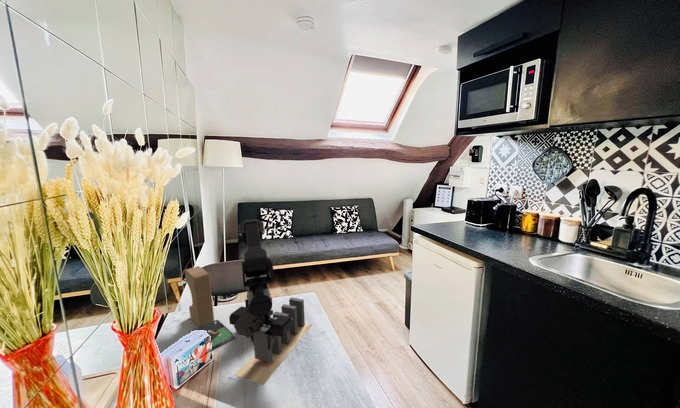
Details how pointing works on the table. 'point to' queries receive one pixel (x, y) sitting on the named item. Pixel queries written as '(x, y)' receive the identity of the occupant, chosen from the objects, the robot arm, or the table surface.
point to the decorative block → (200, 296)
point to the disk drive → (217, 333)
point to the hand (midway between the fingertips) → (262, 346)
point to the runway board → (263, 370)
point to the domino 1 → (262, 346)
